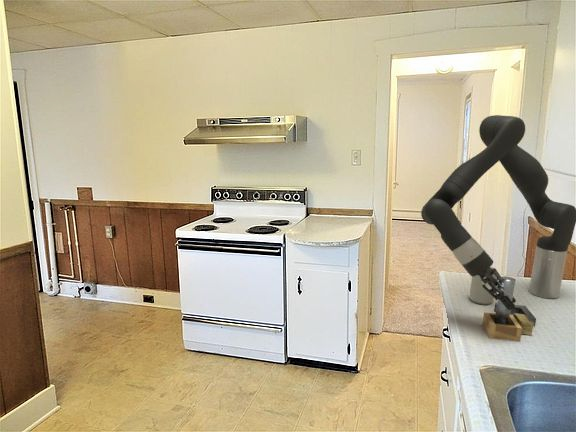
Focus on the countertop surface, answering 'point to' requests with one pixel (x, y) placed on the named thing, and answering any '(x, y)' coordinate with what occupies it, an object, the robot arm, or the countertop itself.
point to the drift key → (524, 323)
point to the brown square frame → (501, 328)
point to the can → (479, 291)
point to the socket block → (521, 312)
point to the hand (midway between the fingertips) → (512, 305)
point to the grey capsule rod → (501, 310)
